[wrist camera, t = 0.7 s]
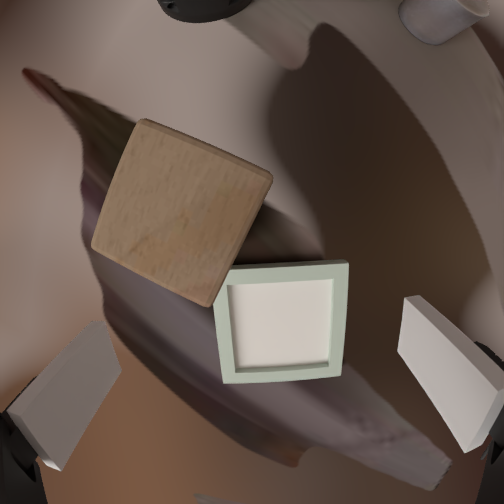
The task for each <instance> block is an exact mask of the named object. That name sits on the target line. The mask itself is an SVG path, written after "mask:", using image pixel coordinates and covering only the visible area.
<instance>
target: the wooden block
mask: <svg viewBox="0 0 504 504" xmlns="http://www.w3.org/2000/svg"><path fill="white" fill-rule="evenodd" d="M272 183H273V175H272V174H271V173H270V172H269V171H267V170H265V169H263V168H261V167H259V166H257V165H255V164H252V163H250V162H248V161H246V160H244V159H242V158H239V157H237V156H235V155H233V154H231V153H229V152H226V151H224V150H222V149H220V148H217V147H215V146H213V145H211V144H208V143H206V142H204V141H201V140H199V139H197V138H194V137H192V136H189V135H187V134H185V133H182V132H180V131H177V130H175V129H172V128H170V127H167V126H164V125H162V124H160V123H157V122H154V121H152V120H149V119H140V120H139V121H138V122H137V124H136V126H135V128H134V130H133V132H132V134H131V137H130V139H129V141H128V143H127V146H126V148H125V150H124V152H123V155H122V157H121V160H120V162H119V164H118V167H117V169H116V172H115V174H114V177H113V180H112V182H111V185H110V188H109V190H108V193H107V196H106V199H105V201H104V204H103V207H102V210H101V213H100V216H99V219H98V222H97V225H96V229H95V232H94V235H93V239H92V242H91V247H92V248H93V249H94V250H95V251H97V252H99V253H101V254H102V255H104V256H106V257H108V258H110V259H111V260H113V261H115V262H117V263H119V264H121V265H122V266H124V267H126V268H128V269H130V270H132V271H134V272H136V273H137V274H139V275H141V276H143V277H145V278H147V279H149V280H151V281H153V282H155V283H157V284H159V285H161V286H163V287H165V288H167V289H169V290H171V291H173V292H175V293H177V294H179V295H181V296H183V297H185V298H187V299H189V300H191V301H194V302H196V303H198V304H200V305H202V306H204V307H210V306H211V305H212V304H213V303H214V302H215V299H216V297H217V295H218V293H219V291H220V289H221V287H222V285H223V283H224V281H225V279H226V277H227V275H228V273H229V270H230V268H231V266H232V264H233V262H234V260H235V258H236V256H237V254H238V252H239V250H240V248H241V246H242V244H243V242H244V240H245V238H246V236H247V234H248V232H249V230H250V227H251V225H252V223H253V221H254V219H255V217H256V215H257V213H258V211H259V209H260V207H261V205H262V203H263V201H264V199H265V197H266V195H267V193H268V191H269V189H270V187H271V185H272Z"/></svg>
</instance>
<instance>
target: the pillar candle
mask: <svg viewBox="0 0 504 504" xmlns="http://www.w3.org/2000/svg"><path fill="white" fill-rule="evenodd" d="M489 14H490V12H489V5H488V2H487V0H404V1H403V2H402V3H401V4H400V6H399V16H400V18H401V21H402V22H403V24H404V25H405V27H406V28H407V29H408V30H409V31H410V32H411V33H412V34H413V35H414V36H415V37H416V38H418V39H419V40H421V41H422V42H424V43H427V44H432V45H440V44H442V43H444V42H446V41H447V40H449V39H450V38H452V37H453V36H455V35H457V34H458V33H460V32H461V31H463V30H464V29H466V28H468V27H469V26H471V25H472V24H474V23H476V22H477V21H479V20H481V19H482V18H484V17H486V16H488V15H489Z"/></svg>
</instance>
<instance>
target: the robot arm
mask: <svg viewBox="0 0 504 504" xmlns="http://www.w3.org/2000/svg"><path fill="white" fill-rule="evenodd" d="M157 1H158V3H159V4H160V6H161V8H162V9H163V11H164V12H165V13H166V14H167V15H168V16H170V17H172V18H174V19H176V20H179V21H182V22H189V23H205V22H212V21H217V20H220V19H224V18H226V17H229V16H231V15H233V14H235V13H237V12H239V11H240V10H242V9H243V8H244V7H246V6H247V5H248V4H249V3H250V2H251V0H157ZM398 353H399V354H400V355H401V357H402V358H403V360H404V361H405V362H406V364H407V365H408V367H409V368H410V370H411V371H412V373H413V374H414V375H415V377H416V378H417V380H418V381H419V383H420V384H421V386H422V387H423V388H424V390H425V392H426V393H427V394H428V396H429V397H430V399H431V400H432V402H433V404H434V405H435V406H436V408H437V410H438V411H439V413H440V414H441V416H442V417H443V419H444V421H445V422H446V424H447V425H448V427H449V429H450V430H451V432H452V433H453V435H454V436H455V438H456V440H457V441H458V443H459V445H460V446H461V448H462V450H463V451H464V453H466V452H468V451H471V450H472V449H474V448H476V447H478V446H480V445H482V443H483V442H484V440H485V438H486V437H487V435H488V434H489V433H490V435H491V436H492V438H493V439H492V441H491V443H490V444H489V446H488V447H487V448H486V450H485V451H484V453H483V454H482V457H481V460H483V459H484V457H485V456H486V454H487V453H488V455H487V460H486V465H485V469H484V473H483V478H482V482H481V485H480V489H479V492H478V496H477V499H476V502H475V504H504V362H503V361H502V360H501V359H500V358H499V357H498V356H497V355H495V353H494V352H493V351H492V350H490V348H488V347H487V346H485V345H483V344H481V343H479V342H477V341H476V342H472V341H471V340H470V339H469V338H468V337H467V336H466V335H464V333H462V332H461V331H460V330H459V329H458V328H457V327H456V326H455V325H453V324H452V323H451V322H450V321H449V320H448V319H447V318H445V317H444V316H443V315H442V314H441V313H440V312H439V311H437V310H436V309H435V308H434V307H433V306H431V305H430V304H429V303H428V302H427V301H426V300H424V299H423V298H422V297H421V296H420V295H418V296H411V297H405V298H404V308H403V316H402V324H401V331H400V338H399V345H398ZM121 371H122V370H121V367H120V365H119V362H118V359H117V357H116V354H115V351H114V348H113V345H112V342H111V339H110V336H109V333H108V330H107V327H106V324H105V322H104V321H92V322H90V323H89V325H87V326H86V327H85V328H84V329H83V330H82V331H81V332H80V333H79V334H78V335H77V336H76V337H75V338H74V339H73V340H72V341H71V342H70V343H69V344H68V345H67V346H66V347H65V348H64V349H63V350H62V351H61V352H60V353H59V354H58V355H57V356H56V357H55V358H54V360H53V361H52V362H51V363H50V364H49V365H48V366H47V367H46V368H45V369H44V370H43V371H42V372H41V373H40V374H39V375H38V376H36V377H35V378H33V379H32V380H31V381H30V383H28V385H27V387H25V388H24V389H23V390H22V391H21V393H19V394H18V395H17V397H16V398H15V399H14V400H13V401H12V402H11V403H10V405H9V406H8V407H7V408H6V409H5V410H4V411H3V412H2V413H0V504H48V502H47V499H46V495H45V491H44V487H43V482H42V478H41V473H40V467H39V465H38V463H37V462H36V461H35V459H36V458H37V456H39V457H40V458H41V459H42V461H43V462H44V463H45V464H46V465H47V466H49V467H52V468H54V469H57V470H59V471H62V469H63V467H64V466H65V464H66V462H67V460H68V459H69V457H70V455H71V453H72V452H73V450H74V448H75V446H76V445H77V443H78V441H79V440H80V438H81V436H82V434H83V433H84V431H85V429H86V428H87V426H88V424H89V423H90V421H91V419H92V418H93V416H94V414H95V413H96V411H97V409H98V408H99V406H100V405H101V403H102V401H103V400H104V398H105V397H106V395H107V393H108V392H109V390H110V389H111V387H112V385H113V384H114V382H115V381H116V379H117V377H118V376H119V374H120V373H121Z"/></svg>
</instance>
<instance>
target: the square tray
mask: <svg viewBox="0 0 504 504" xmlns="http://www.w3.org/2000/svg"><path fill="white" fill-rule="evenodd" d="M348 274H349V263H348V262H347V261H346V260H345V259H338V260H321V261H303V262H285V263H267V264H248V265H232V266H231V268H230V270H229V273H228V275H227V277H226V279H225V281H224V283H223V285H222V287H221V289H220V291H219V293H218V295H217V297H216V299H215V302H214V303H213V306H214V315H215V323H216V332H217V340H218V348H219V355H220V363H221V370H222V377H223V383H260V382H279V381H293V380H305V379H315V378H324V377H333V376H341V368H342V359H343V349H344V338H345V327H346V312H347V296H348Z"/></svg>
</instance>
